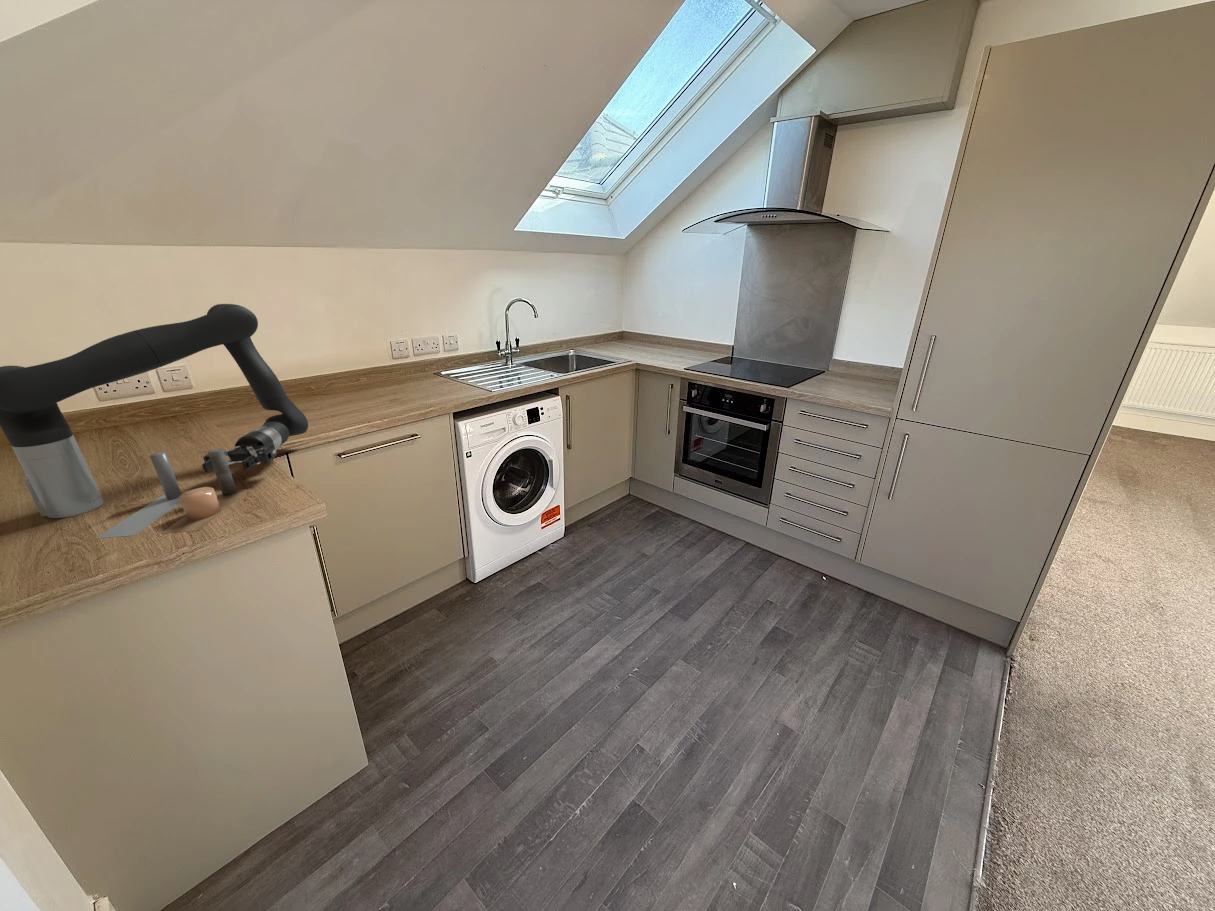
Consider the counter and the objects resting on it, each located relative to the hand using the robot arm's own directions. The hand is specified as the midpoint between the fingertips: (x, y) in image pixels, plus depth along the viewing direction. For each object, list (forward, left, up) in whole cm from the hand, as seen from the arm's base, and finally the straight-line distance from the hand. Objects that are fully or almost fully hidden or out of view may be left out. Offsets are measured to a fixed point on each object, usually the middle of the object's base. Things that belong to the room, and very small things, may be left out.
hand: (224, 467), depth 114 cm
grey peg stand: (-12, -9, -8) cm, 17 cm away
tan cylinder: (0, -11, -6) cm, 13 cm away
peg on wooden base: (0, -9, -8) cm, 12 cm away
